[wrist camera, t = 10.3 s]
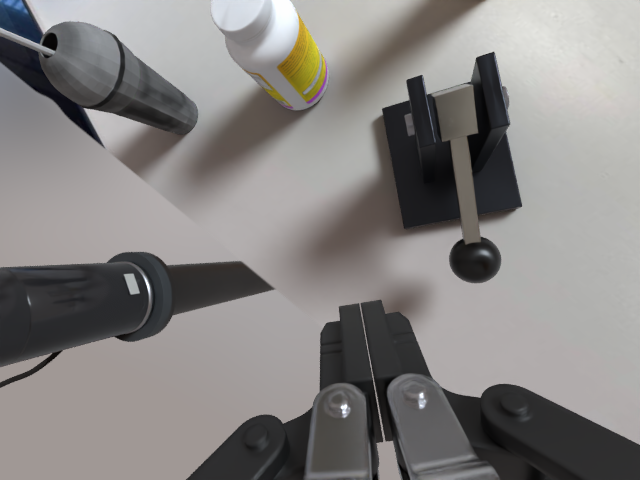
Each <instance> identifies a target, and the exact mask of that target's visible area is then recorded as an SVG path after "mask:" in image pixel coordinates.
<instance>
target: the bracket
mask: <svg viewBox="0 0 640 480" xmlns="http://www.w3.org/2000/svg"><path fill="white" fill-rule="evenodd" d="M406 82H407V89H408V95H409V101H405V102H402V103H399V104H395V105H392V106H389V107H385V108H383V109H382V111H383V116H384V122H385V127H386V133H387V138H388V143H389V149H390V154H391V159H392V165H393V170H394V176H395V181H396V186H397V192H398V197H399V202H400V208H401V213H402V219H403V224H404V228H405V229H409V228H415V227H420V226H425V225H431V224H436V223H441V222H447V221H452V220H457V219H460V216H459V209H458V203H457V196H456V189H455V183H454V176H453V169H452V163H451V156H450V149H449V143H448V141H445V142H441V140H440V138H439V137H438V134H437V128H436V122H435V116H434V110H433V103H432V97H431V94H428V95H427V94H426V89H425V84H424V79H423V75H420V76H417V77H414V78H411V79H408V80H407V81H406ZM465 84H470V85H473V86H474V94H475V103H476V112H477V121H478V129H479V133H476V134H472V135H468V144H469V151H470V159H471V167H472V175H473V183H474V191H475V199H476V207H477V214H478V216H479V215H484V214H490V213H495V212H500V211H506V210H511V209H516V208H520V207H522V203H521V198H520V194H519V189H518V185H517V180H516V175H515V171H514V166H513V161H512V157H511V152H510V148H509V143H508V138H507V134H506V130H507V128H508V127H509V125H510V121H509V116H508V111H507V109H508V107H509V95H508V91H507V89H506V87H505V86H503V87H502V84H501V79H500V75H499V70H498V66H497V61H496V56H495V53H494V52H492V53H489V54H485V55H482V56H479V57H477V58H476V62H475V66H474V70H473V75H472V79H471V82H468V83H465ZM461 85H462V84H461ZM458 86H459V85H458ZM455 87H456V86H455ZM451 88H453V87H451ZM448 89H449V88H448ZM445 90H446V89H445ZM442 91H443V90H442ZM438 92H439V91H438ZM435 93H436V92H435ZM432 94H433V93H432Z"/></svg>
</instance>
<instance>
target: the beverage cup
mask: <svg viewBox="0 0 640 480" xmlns="http://www.w3.org/2000/svg"><path fill="white" fill-rule="evenodd" d="M0 36H2V37H4V38H7V39H9V40H12V41H14V42H17V43H19V44H21V45H24V46H26V47H29V48H31V49H34V50H36V51H38V52H39V59H40V63H41V66H42V69H43V71H44V73H45V74H46V76H47V77H48V79H49V81H50V82H51V83H52V85H53V86H54V87H55V88H56V89H57V90H58V91H60V92H61V93H62V94H63V95H65V96H66V97H68V98H69V99H71V100H72V101H74V102H76V103H77V104H79V105H80V106H82V107H83V108H87V109H94V110H99V111H103V112H109V113H113V114H116V115H119V116H123V117H126V118H129V119H132V120H135V121H138V122H141V123H144V124H147V125H150V126H153V127H156V128H159V129H162V130H165V131H169V132H174V133H176V134H186V133H188V132H189V131H191V130H192V129H193V127H194V126H195V124H196V122H197V118H198V110H197V107H196V105H195V104H194V102H193V101H191V100H190V99H189V98H188V97H187V96H186V95H185V94H184V93H182V92H181V91H180V90H178V89H177V88H176V87H174V86H173V85H172V84H171V83H169V82H168V81H167V80H165V79H164V78H163V77H162V76H160V75H159V74H158V73H156V72H155V71H154V70H152V69H151V68H150V67H149V66H147V65H146V64H145V63H143V62H142V61H141V60H140V59H138V58H137V57H136V56H134V54H133V53H132V52H131V51H130V50H129V49H128V48H127V47H126V46H125V45H124V44H123V43H122V42H120V41H119V40H118V38H117V37H116V36H115V35H113V34H112V33H110V32H108V31H106V30H102V29H100V28H98V27H96V26H94V25H91V24H88V23H84V22H63V23H60V24H57V25H55V26H53V27H51V28H50V29H49V30H48V31H47V32H45V34H44V35H43V37H42V39H41V41H40V45H39V44H37V43H34V42H32V41H30V40H27V39H25V38H23V37H20V36H18V35H16V34H13V33H11V32H8V31H6V30H4V29H1V28H0Z"/></svg>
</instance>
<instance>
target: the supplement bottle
mask: <svg viewBox="0 0 640 480" xmlns="http://www.w3.org/2000/svg"><path fill="white" fill-rule="evenodd" d="M211 16H212V19H213V21H214V23H215V25H216V26H217V27H218V28H219V29H220V30H221V32H222V33H223V34H224V35H225V42H226V46H227V49H228V52H229V54H230V56H231V57H232V59H233V60H234V61H235V62H236V63H237V64H238V65H239V66H240V67H241V68H242V69H243V70H244V71H245V72H246V73H247V74H249V75H250V76H251V77H252V78H253V79H254V80H255V81H256V82H257V83H258V84H259V85H260V86H261V87H262V88H263V89H264V90H265V91H267V92H268V93H269V94H270V95H271V96H272V97H273V98H274V99H275V100H276V101H277V102H278V103H280V104H281V105H282V106H284V107H285V108H287V109H290V110H303V109H306V108H309V107H311V106H312V105H314V104H315V103H316V102H318V101H319V100H320V98H321V97H322V96H323V94H324V92H325V90H326V88H327V85H328V81H329V70H328V66H327V63H326V61H325V59H324V57H323V56H322V54H321V52H320V50H319V49H318V47H317V45H316V44H315V42H314V40H313V39H312V37H311V35H310V33H309V32H308V30H307V28H306V27H305V25H304V23H303V21H302V20H301V18H300V16H299V15H298V13H297V11H296V9H295V8H294V6H293V5H292V3H291V1H290V0H211Z"/></svg>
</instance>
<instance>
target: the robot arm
mask: <svg viewBox="0 0 640 480" xmlns="http://www.w3.org/2000/svg"><path fill="white" fill-rule="evenodd" d="M154 306H155V289H154V285H153V282H152V280H151V278H150V276H149V274H148V273H147V271H146V270H145V269H144V268H143V267H142V266H140V265H139V264H137V263H134V262H116V263H96V264H95V263H94V264H71V265H49V266H48V265H47V266H24V267H1V268H0V367H3V366H6V365H9V364H13V363H16V362H20V361H24V360H28V359H31V358H35V357H39V356H43V355H47V354H50V353H52V354H51V355H50V356H49V357H48V358H46V359H45V360H44V361H43V362H41V363H40V364H38V365H37V366H36V367H34V368H33V369H31V370H29V371H27V372H25V373H22V374H20V375H17V376H14V377H12V378H9V379H7V380H5V381H3V382H0V388H1V387H3V386H6V385H8V384H10V383H12V382H15V381H18V380H21V379H23V378H26V377H28V376H30V375H32V374H34V373H36V372H37V371H39V370H40V369H42V368H43V367H44V366H46V365H47V364H48V363H50V362H51V361H52V360H53V359H55V357H57V356H58V355H59V354H60V353H61V352H62V351H63V350H65V349H69V348H72V347H76V346H80V345H83V344H87V343H91V342H95V341H98V340H102V339H106V338H110V337H114V336H117V335H121V334H127V333H131V332H135V331H137V330H139V329H141V328H142V327H144V326H145V325H146V324H147V322H148V321H149V319H150V318H151V316H152V313H153V310H154ZM361 308H362V314H363V319H364V325H365V331H366V337H367V343H368V349H369V355H370V360H371V365H372V371H373V376H374V381H375V386H376V392H377V397H378V402H379V408H380V414H381V419H382V424H383V430H384V435H385V440H386V441H393V443H394V447H395V452H396V458H397V464H398V470H399V474H400V478H401V480H640V445H639V444H637V443H635V442H633V441H631V440H629V439H627V438H625V437H623V436H621V435H619V434H617V433H615V432H612V431H610V430H608V429H606V428H604V427H602V426H600V425H598V424H596V423H594V422H592V421H590V420H588V419H586V418H584V417H582V416H580V415H578V414H576V413H574V412H572V411H570V410H568V409H566V408H564V407H562V406H560V405H558V404H556V403H554V402H552V401H550V400H548V399H546V398H544V397H542V396H540V395H538V394H535V393H533V392H531V391H529V390H527V389H525V388H523V387H520V386H516V385H511V384H498V385H494V386H491V387H489V388H487V389H486V390H485V391H484V392H483V394H482V396H481V398H478V397H471V396H464V395H458V394H455V393H452V392H449V391H447V390H445V389H444V388H442V387H441V386H440V385H439V384H438V383H437V382H436V381H435V380H433V378H432V377H431V375H430V372H429V370H428V367H427V365H426V362H425V360H424V357H423V355H422V352H421V350H420V347H419V345H418V342H417V341H416V337H415V335H414V332H413V330H412V327H411V325H410V322H409V320H408V319H407V318H406V317H405V316H403V315H402V314H401V313H400V312H394V313H388V314H385V311H384V308H383V305H382V301H381V300H377V301H370V302H364V303H361ZM339 313H340V321H336V322H329V323H326V325H325V326H324V328H323V330H322V332H321V338H320V344H321V346H320V354H321V355H320V392H319V393H318V395H317V396H316V398H315V400H314V402H313V407H312V408H311V409H310V410H309V411H308V412H306V413H305V414H303V415H301V416H300V417H297V418H295V419H293V420H291V421H288V422H286V423H284V424H283V423H282V422H281V420H279V419H278V418H277V417H275V416H272V415H259V416H256V417H253V418H251V419H249V420H247V421H246V422H245V423H243V424H242V425H241V426H240V427H239V428H238V429H237V430H236V431H235V432H234V433H233V434H232V435H231V436H230V437H229V438H228V439H227V440H226V441H225V442H224V443H223V444H222V445H221V446H220V447H219V448H218V449H217V450H216V451H215V452H214V453H213V454H212V455H211V456H210V457H209V458H208V459H207V460H206V461H205V462H204V463H203V464H202V465H201V466H199V467H198V469H197V470H196V471H195V472H193V474H191V476H190V477H189V478H187V479H186V480H379V470H378V467H379V457H378V451H377V444H376V443H379V442H383V437H382V431H381V425H380V419H379V414H378V407H377V402H376V396H375V390H374V385H373V378H372V372H371V367H370V361H369V356H368V350H367V345H366V339H365V334H364V328H363V323H362V317H361V312H360V306H359V303H358V304H352V305H345V306H339Z"/></svg>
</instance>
